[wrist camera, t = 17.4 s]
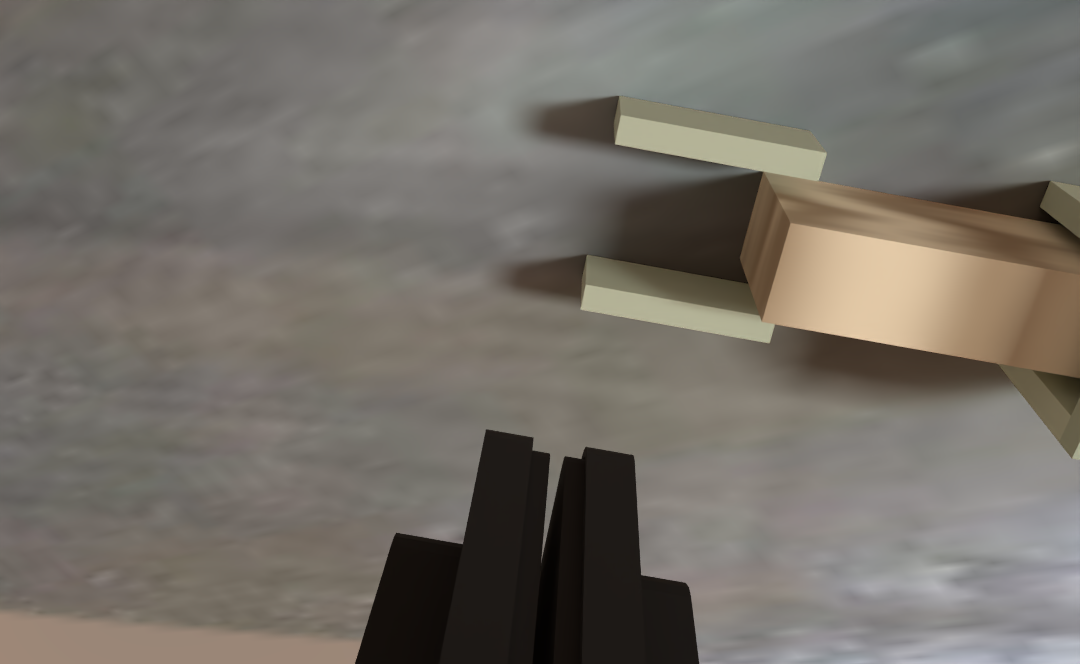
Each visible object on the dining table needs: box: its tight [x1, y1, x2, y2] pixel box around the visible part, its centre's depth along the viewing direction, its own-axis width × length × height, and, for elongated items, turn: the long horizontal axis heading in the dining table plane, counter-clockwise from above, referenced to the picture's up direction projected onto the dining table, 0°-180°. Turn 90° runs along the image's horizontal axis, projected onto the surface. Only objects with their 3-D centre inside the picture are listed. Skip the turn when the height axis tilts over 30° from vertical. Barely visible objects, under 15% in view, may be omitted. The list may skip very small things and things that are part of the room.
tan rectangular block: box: [740, 171, 1080, 378], centre depth 35 cm, size 14×4×6 cm, turn 80°
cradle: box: [581, 96, 827, 343], centre depth 36 cm, size 7×7×3 cm
